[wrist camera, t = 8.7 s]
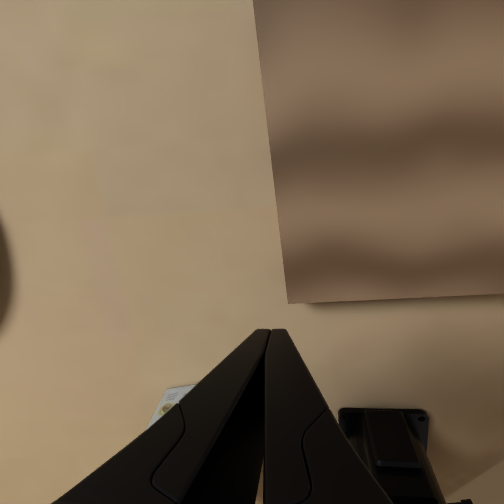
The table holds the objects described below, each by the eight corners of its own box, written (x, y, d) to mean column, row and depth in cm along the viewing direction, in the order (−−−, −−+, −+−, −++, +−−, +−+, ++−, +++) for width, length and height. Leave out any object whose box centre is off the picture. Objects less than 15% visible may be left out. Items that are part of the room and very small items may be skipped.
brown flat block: (483, 276, 18) (505, 293, 16) (289, 287, 21) (288, 303, 19) (524, -51, 13) (565, -86, 11) (258, 13, 16) (252, -7, 13)
